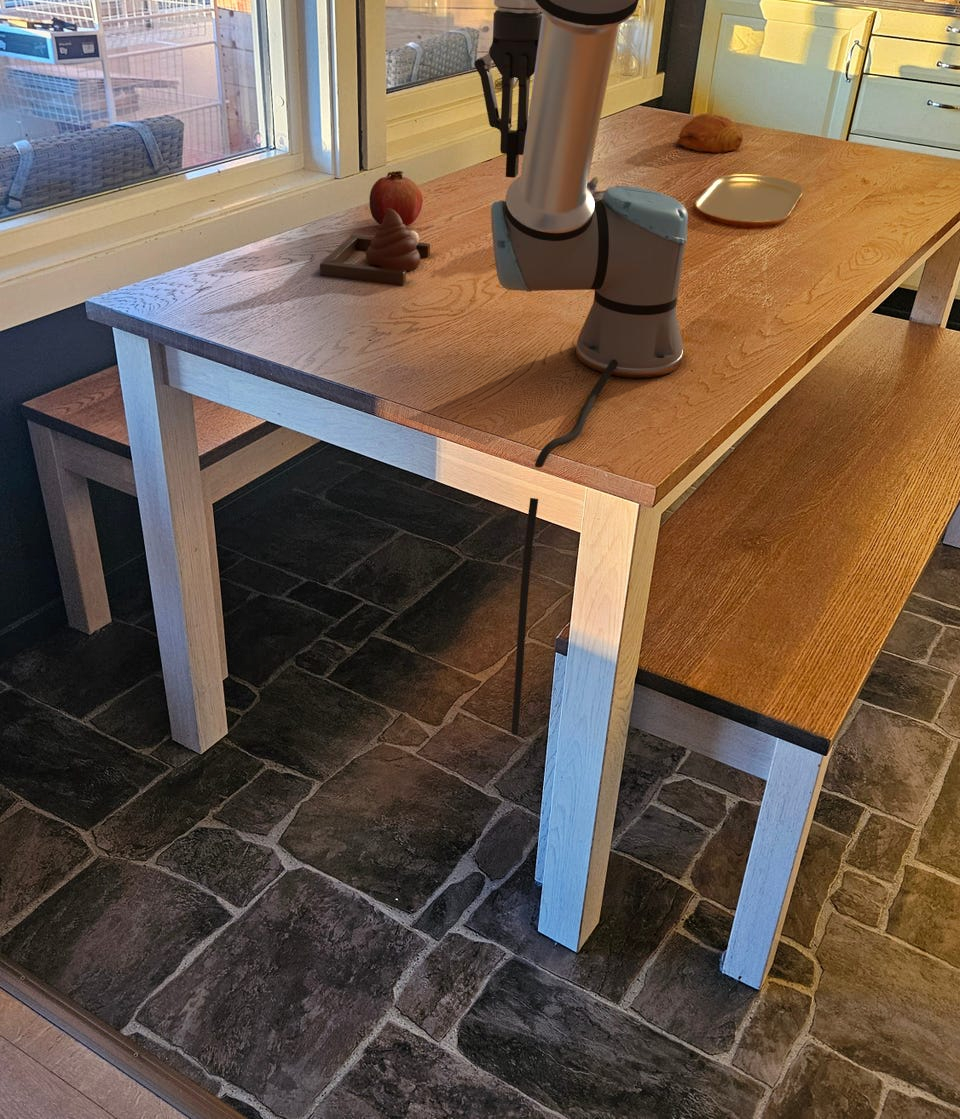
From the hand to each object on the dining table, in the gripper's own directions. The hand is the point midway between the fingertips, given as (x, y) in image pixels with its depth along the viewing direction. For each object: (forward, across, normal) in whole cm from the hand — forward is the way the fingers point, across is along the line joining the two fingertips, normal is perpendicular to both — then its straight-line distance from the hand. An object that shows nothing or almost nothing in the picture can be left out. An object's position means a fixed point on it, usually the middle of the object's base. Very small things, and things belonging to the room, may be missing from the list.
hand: (511, 175), depth 172 cm
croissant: (+15, -28, -106) cm, 111 cm away
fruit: (+17, +26, -23) cm, 38 cm away
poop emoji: (+17, +20, -3) cm, 27 cm away
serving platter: (+17, -39, -60) cm, 74 cm away
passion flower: (+17, -9, -31) cm, 36 cm away
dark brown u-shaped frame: (+17, +23, -2) cm, 29 cm away
